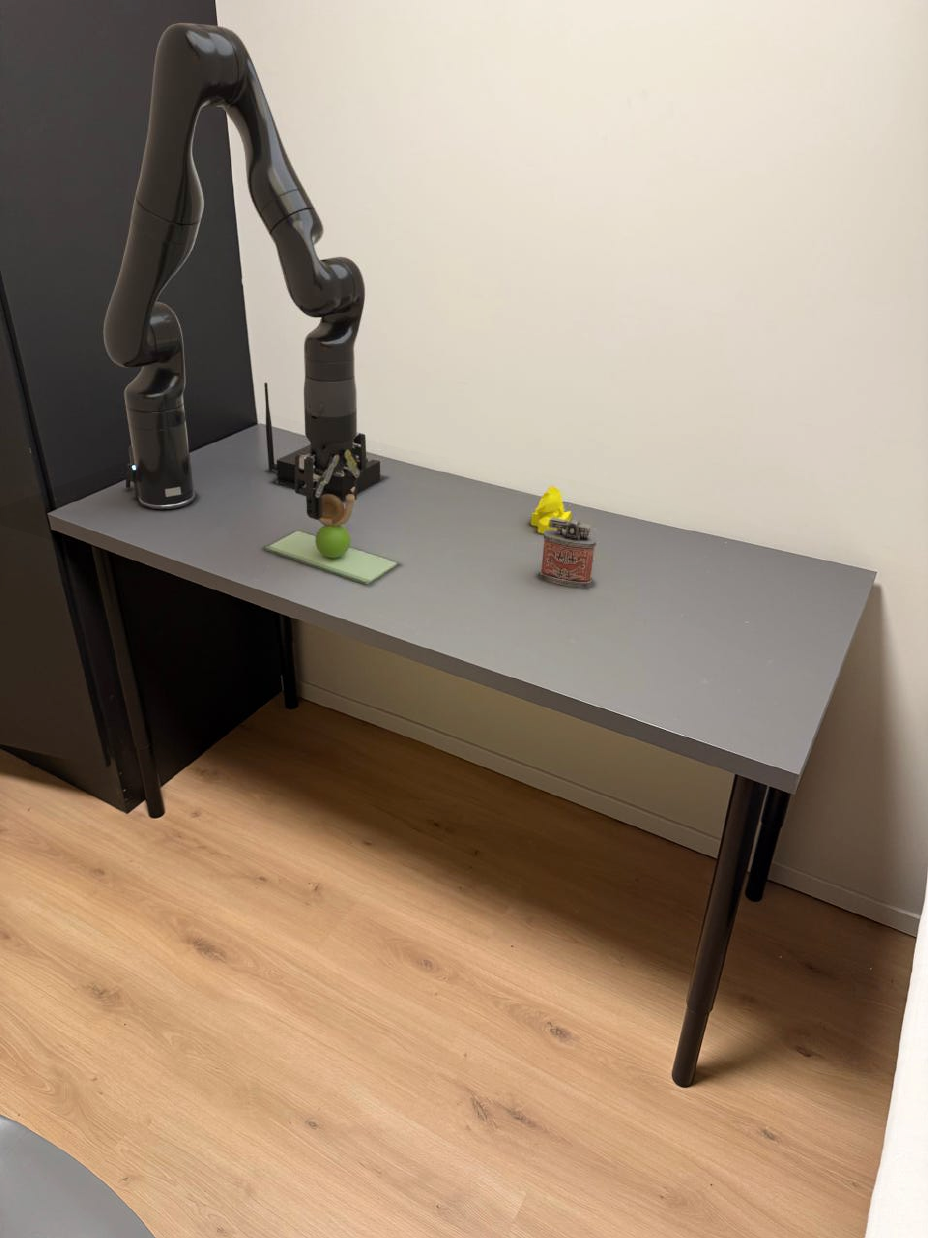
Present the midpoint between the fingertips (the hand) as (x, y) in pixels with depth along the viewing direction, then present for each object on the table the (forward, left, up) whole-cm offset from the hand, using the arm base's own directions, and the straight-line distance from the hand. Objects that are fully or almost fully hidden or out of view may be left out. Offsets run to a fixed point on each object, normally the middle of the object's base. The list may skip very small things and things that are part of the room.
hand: (332, 508), depth 141 cm
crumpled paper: (+22, +32, -9) cm, 40 cm away
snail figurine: (0, 0, -8) cm, 8 cm away
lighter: (+33, +15, -9) cm, 38 cm away
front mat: (-1, 0, -9) cm, 9 cm away
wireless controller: (-23, +25, -9) cm, 35 cm away
